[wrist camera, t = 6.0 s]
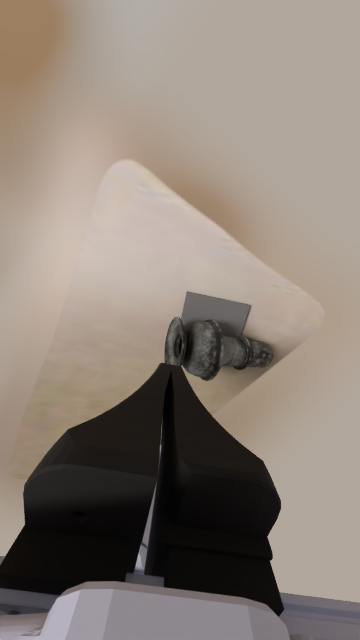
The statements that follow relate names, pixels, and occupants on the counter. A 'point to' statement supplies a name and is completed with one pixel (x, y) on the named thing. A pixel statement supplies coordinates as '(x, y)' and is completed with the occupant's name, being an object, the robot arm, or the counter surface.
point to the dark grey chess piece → (211, 349)
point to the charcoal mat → (215, 313)
